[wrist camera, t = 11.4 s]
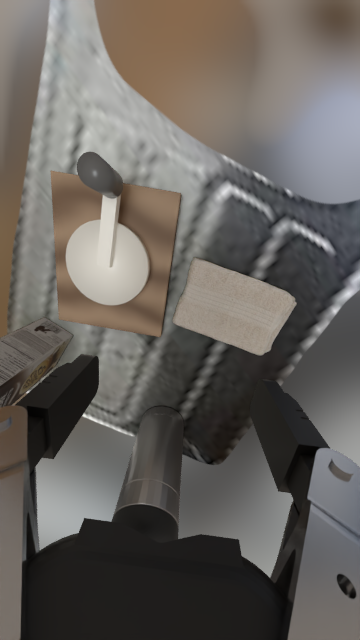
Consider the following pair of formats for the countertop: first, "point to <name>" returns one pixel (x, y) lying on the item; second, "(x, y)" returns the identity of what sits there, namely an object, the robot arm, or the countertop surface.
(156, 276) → the dial board
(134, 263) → the dial
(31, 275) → the countertop surface
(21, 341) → the coffee box
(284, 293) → the washcloth
